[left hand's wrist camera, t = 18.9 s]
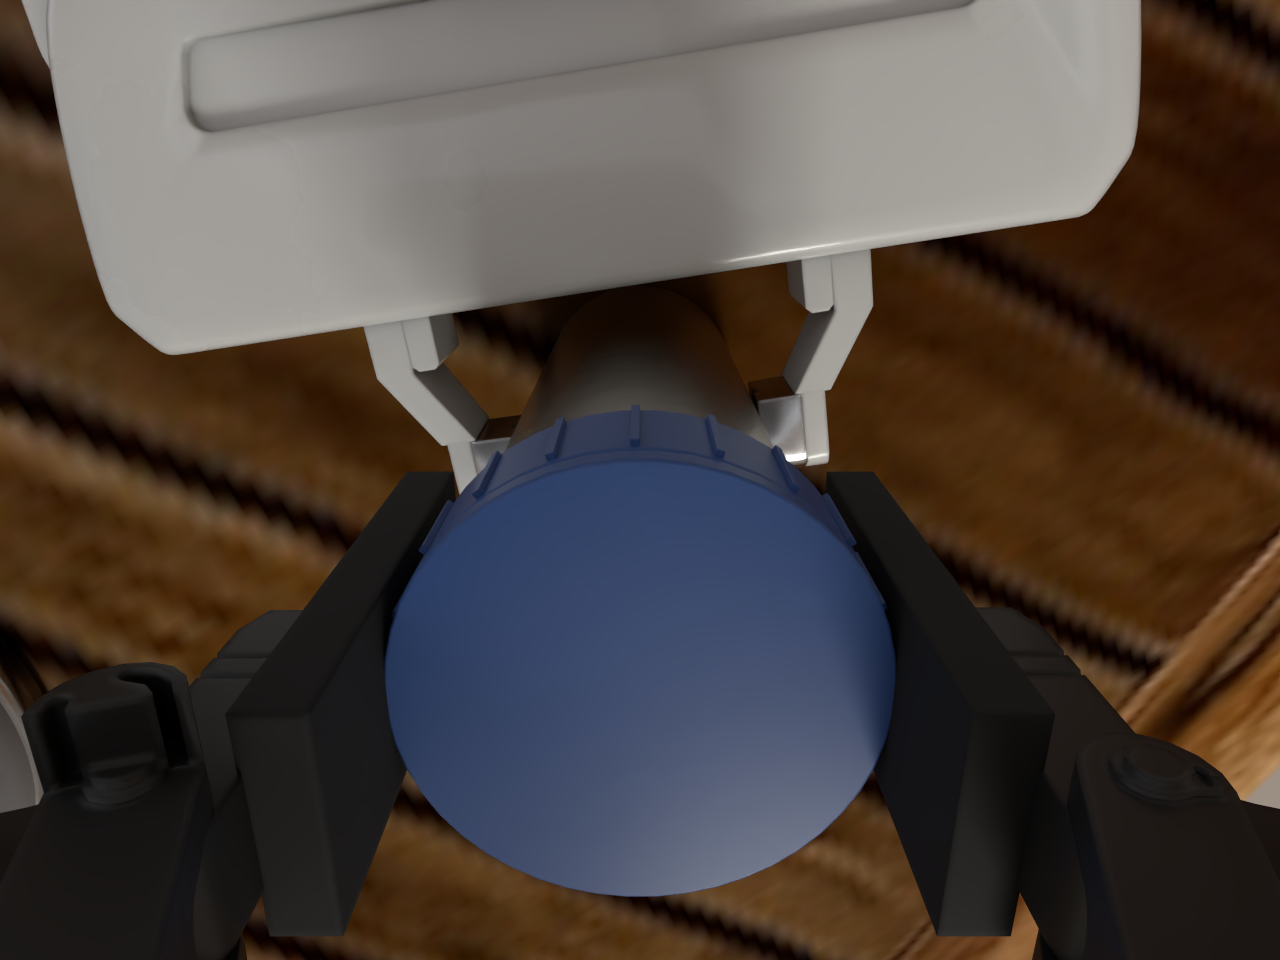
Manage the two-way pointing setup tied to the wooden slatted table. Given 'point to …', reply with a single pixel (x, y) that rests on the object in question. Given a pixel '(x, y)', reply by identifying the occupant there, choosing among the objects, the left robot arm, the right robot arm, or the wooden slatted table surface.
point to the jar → (640, 365)
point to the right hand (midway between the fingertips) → (647, 480)
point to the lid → (640, 657)
